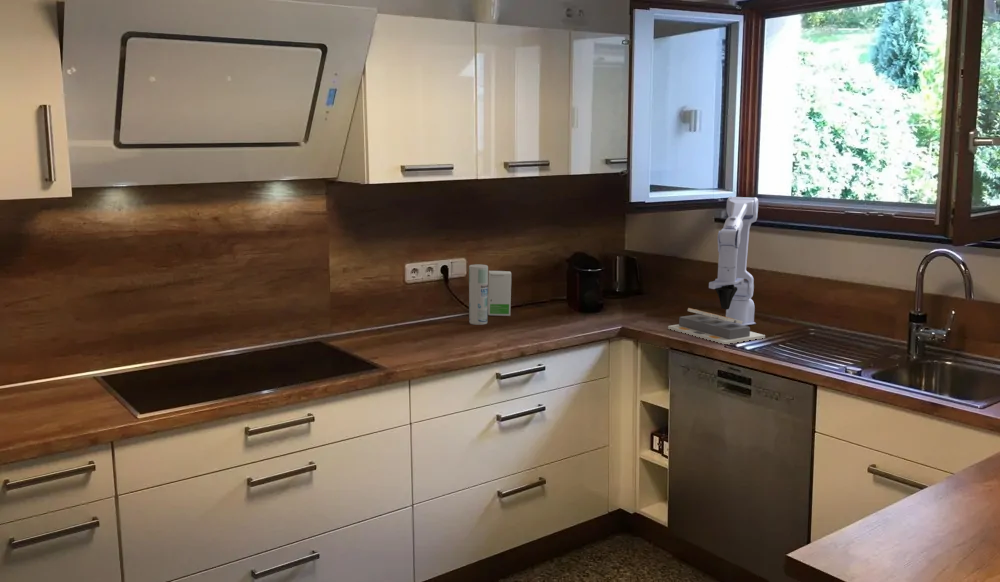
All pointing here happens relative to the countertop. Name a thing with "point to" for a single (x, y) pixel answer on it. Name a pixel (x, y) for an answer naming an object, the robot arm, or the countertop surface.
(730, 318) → the block
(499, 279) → the skincare box
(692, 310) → the rocker
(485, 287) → the spray can
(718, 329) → the switch unit
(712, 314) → the rocker
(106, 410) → the countertop surface
